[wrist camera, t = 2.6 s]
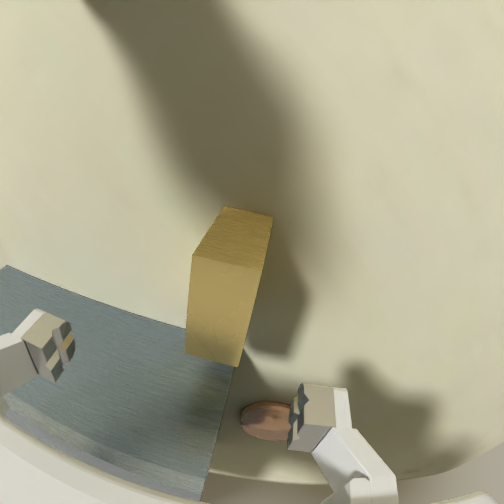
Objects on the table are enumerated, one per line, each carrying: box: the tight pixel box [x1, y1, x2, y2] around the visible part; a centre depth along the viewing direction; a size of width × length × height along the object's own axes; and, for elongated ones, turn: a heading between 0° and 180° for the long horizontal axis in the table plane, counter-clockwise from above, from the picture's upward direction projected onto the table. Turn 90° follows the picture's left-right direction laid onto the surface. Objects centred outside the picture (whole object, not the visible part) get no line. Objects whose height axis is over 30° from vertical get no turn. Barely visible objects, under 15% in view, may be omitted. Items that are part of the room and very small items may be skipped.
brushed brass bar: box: [184, 206, 274, 367], centre depth 14 cm, size 2×5×5 cm, turn 169°
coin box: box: [0, 265, 234, 502], centre depth 18 cm, size 20×15×10 cm
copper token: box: [240, 402, 291, 441], centre depth 22 cm, size 5×5×1 cm
